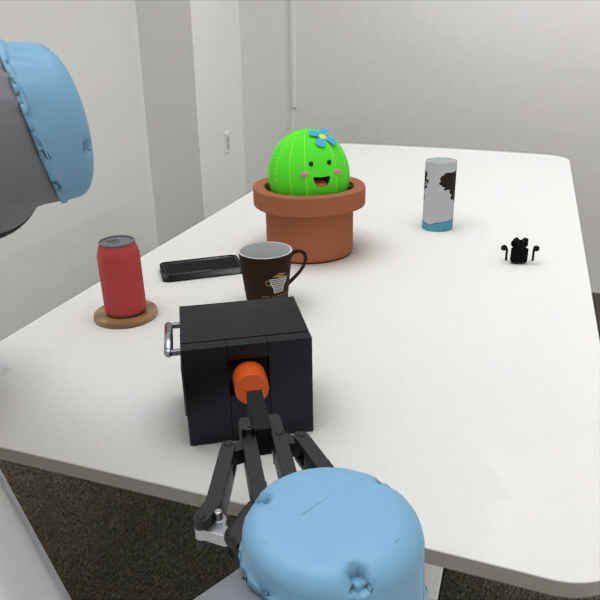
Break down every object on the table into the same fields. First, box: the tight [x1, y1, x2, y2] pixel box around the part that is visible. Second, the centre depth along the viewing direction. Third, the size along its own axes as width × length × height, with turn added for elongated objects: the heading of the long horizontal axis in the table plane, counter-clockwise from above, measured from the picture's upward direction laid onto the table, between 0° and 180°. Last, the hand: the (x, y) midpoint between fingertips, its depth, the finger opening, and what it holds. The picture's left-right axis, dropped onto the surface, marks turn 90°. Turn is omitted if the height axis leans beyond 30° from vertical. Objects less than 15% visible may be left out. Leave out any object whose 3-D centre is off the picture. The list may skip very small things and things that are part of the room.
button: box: [233, 361, 269, 404], centre depth 69 cm, size 3×4×4 cm
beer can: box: [96, 234, 147, 318], centre depth 102 cm, size 7×7×12 cm
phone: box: [158, 254, 242, 282], centre depth 123 cm, size 8×1×15 cm
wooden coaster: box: [93, 299, 159, 330], centre depth 105 cm, size 10×10×1 cm
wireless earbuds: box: [500, 236, 541, 264], centre depth 123 cm, size 7×2×5 cm, turn 82°
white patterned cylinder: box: [421, 156, 458, 233], centre depth 143 cm, size 7×7×15 cm
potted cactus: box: [252, 125, 366, 264], centre depth 128 cm, size 22×22×25 cm
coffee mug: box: [237, 241, 308, 300], centre depth 105 cm, size 12×9×10 cm
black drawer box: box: [163, 295, 314, 447], centre depth 76 cm, size 12×16×12 cm
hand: (254, 402), depth 62 cm, fingers closed
